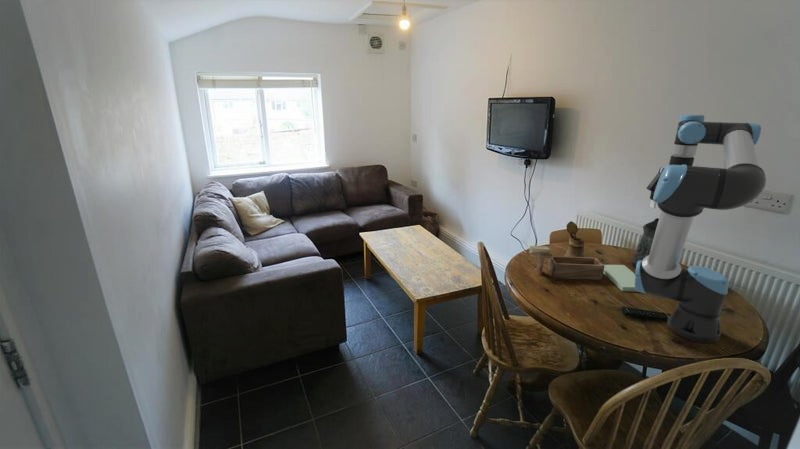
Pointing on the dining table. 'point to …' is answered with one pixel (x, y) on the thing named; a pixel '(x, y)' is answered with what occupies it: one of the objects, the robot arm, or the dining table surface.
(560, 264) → the toolbox
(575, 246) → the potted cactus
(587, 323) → the dining table surface
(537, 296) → the dining table surface
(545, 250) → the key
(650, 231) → the beer stein
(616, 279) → the lid
